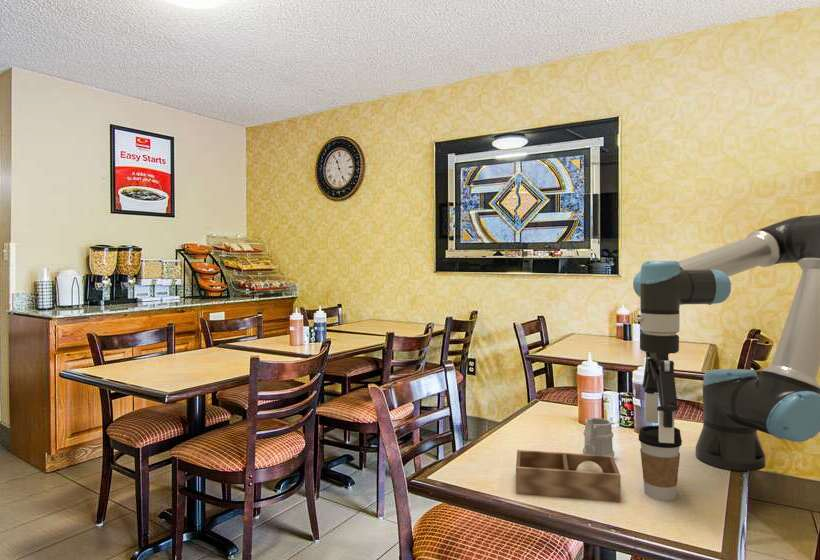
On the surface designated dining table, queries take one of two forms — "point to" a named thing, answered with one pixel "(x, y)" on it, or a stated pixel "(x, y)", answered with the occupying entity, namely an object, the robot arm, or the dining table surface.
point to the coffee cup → (659, 463)
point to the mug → (598, 437)
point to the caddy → (567, 476)
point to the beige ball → (589, 467)
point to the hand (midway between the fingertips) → (658, 431)
